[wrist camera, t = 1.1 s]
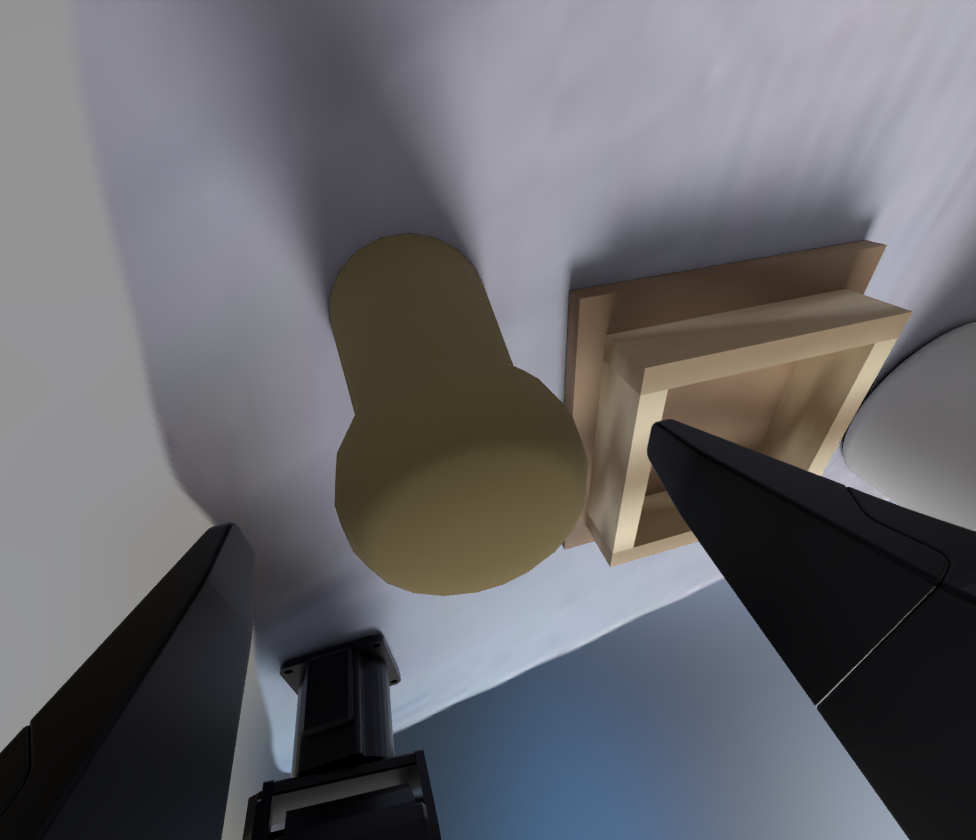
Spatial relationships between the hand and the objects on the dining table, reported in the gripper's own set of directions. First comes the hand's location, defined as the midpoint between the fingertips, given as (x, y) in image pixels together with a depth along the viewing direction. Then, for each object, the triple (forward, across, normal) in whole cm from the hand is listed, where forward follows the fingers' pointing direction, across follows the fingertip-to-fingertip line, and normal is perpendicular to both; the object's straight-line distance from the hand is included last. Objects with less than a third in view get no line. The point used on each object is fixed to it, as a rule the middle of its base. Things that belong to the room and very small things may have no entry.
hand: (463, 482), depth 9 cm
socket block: (+9, -14, +8) cm, 18 cm away
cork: (+9, 0, 0) cm, 9 cm away
